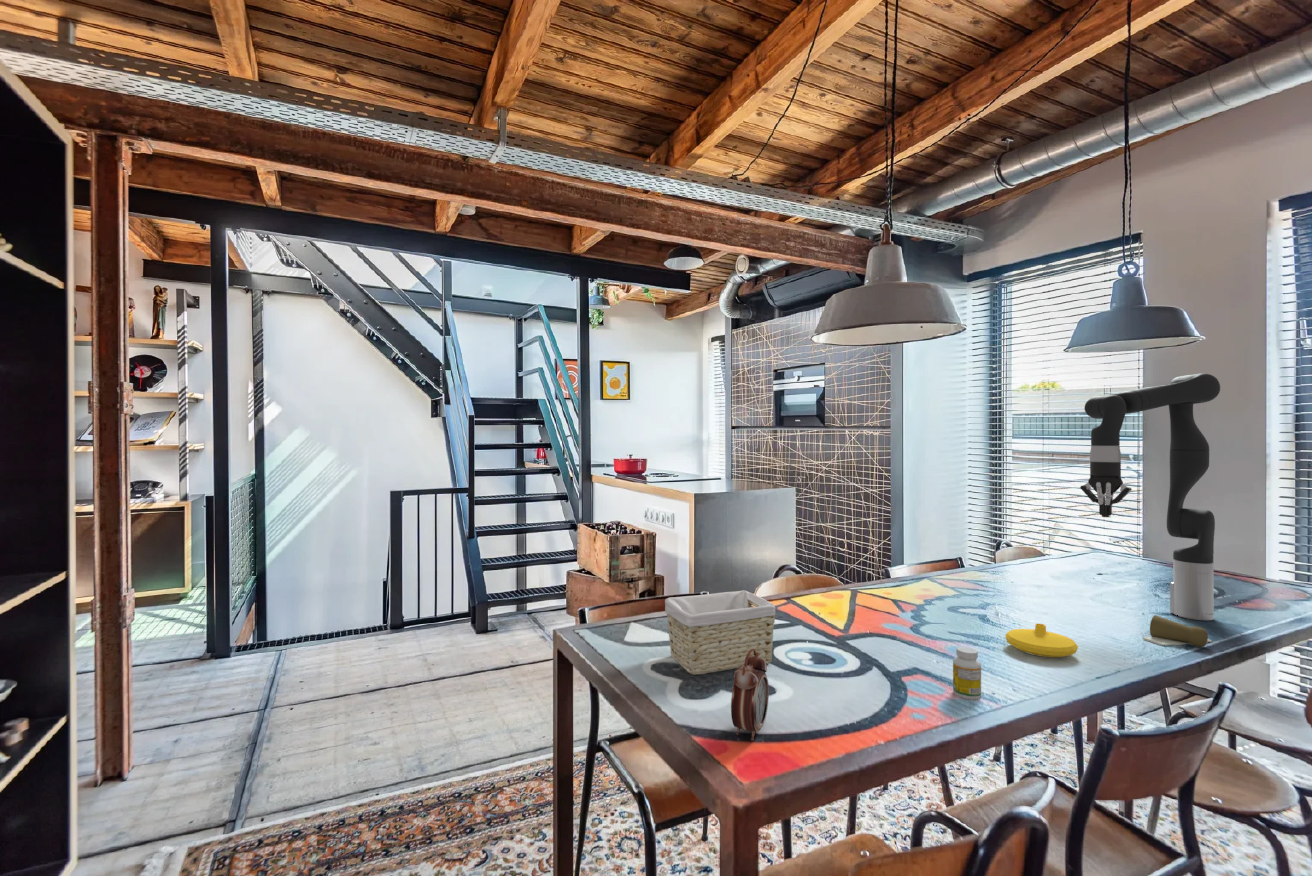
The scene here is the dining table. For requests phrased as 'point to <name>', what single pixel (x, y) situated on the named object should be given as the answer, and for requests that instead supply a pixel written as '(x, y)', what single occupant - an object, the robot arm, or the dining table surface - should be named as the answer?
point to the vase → (1041, 642)
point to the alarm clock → (750, 694)
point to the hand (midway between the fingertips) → (1105, 516)
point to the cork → (1177, 631)
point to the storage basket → (719, 630)
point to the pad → (1166, 641)
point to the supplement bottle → (967, 674)
